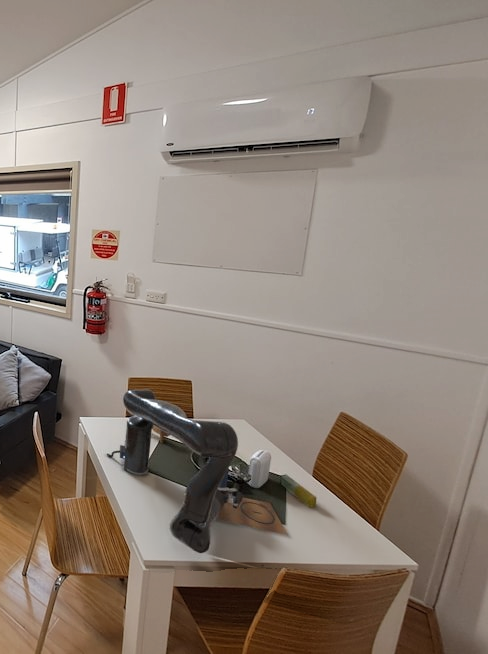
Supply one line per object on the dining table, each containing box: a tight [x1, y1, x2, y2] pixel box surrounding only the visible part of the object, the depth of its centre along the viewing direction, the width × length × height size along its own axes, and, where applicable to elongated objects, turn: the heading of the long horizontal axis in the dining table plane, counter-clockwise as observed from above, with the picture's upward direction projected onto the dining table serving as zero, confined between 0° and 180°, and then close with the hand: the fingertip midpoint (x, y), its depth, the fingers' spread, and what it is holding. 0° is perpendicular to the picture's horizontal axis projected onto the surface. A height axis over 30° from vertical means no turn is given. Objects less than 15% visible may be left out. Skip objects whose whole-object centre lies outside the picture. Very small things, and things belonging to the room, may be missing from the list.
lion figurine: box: [152, 425, 171, 444], centre depth 169 cm, size 15×5×9 cm, turn 44°
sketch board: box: [215, 494, 289, 536], centre depth 129 cm, size 20×16×1 cm
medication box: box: [280, 474, 318, 509], centre depth 135 cm, size 12×3×4 cm, turn 6°
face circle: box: [240, 502, 275, 524], centre depth 127 cm, size 9×9×1 cm
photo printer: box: [246, 449, 272, 489], centre depth 141 cm, size 10×4×12 cm, turn 123°
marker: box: [219, 467, 230, 488], centre depth 132 cm, size 3×3×12 cm
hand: (222, 479), depth 131 cm, fingers open, 8 cm apart
